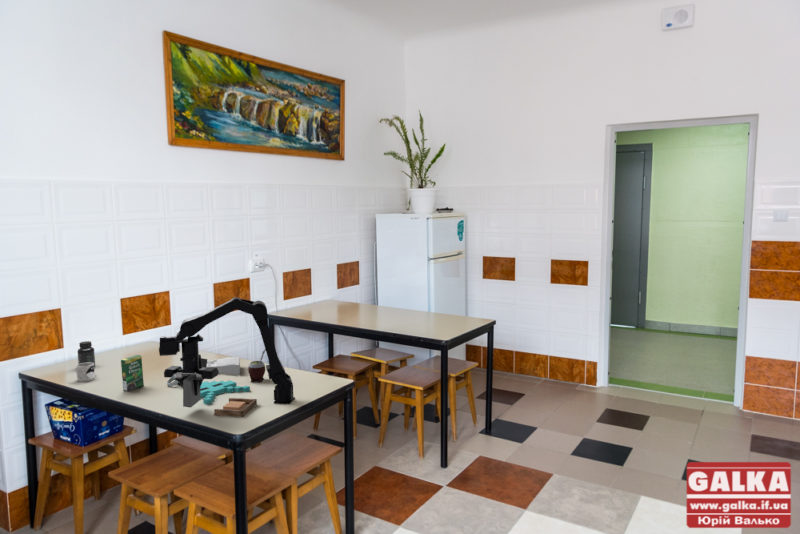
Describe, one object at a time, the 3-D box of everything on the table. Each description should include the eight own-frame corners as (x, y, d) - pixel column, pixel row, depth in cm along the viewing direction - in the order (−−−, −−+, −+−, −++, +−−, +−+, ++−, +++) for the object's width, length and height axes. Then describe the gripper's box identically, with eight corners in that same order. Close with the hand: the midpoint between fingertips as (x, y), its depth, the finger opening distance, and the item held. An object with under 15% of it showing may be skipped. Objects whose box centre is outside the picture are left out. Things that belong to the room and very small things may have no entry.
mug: (89, 381, 251) (88, 366, 250) (74, 381, 251) (73, 366, 250) (101, 374, 261) (100, 360, 260) (86, 374, 260) (85, 360, 260)
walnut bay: (256, 404, 222) (256, 399, 222) (242, 416, 210) (242, 411, 209) (229, 402, 224) (229, 397, 223) (214, 415, 211) (214, 409, 211)
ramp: (186, 370, 268) (186, 358, 267) (215, 362, 281) (215, 351, 280) (226, 380, 252) (225, 368, 251) (255, 371, 265) (254, 360, 264)
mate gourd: (245, 380, 251) (244, 346, 249) (261, 376, 256) (260, 343, 254) (255, 384, 245) (253, 349, 244) (271, 380, 251) (270, 346, 249)
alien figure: (250, 391, 238) (220, 382, 250) (249, 386, 237) (220, 377, 250) (206, 405, 222) (177, 395, 234) (206, 400, 222) (177, 389, 234)
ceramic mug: (187, 378, 254) (186, 361, 253) (196, 382, 248) (195, 365, 247) (163, 384, 247) (162, 366, 246) (171, 389, 241) (170, 371, 240)
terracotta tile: (245, 407, 220) (245, 401, 220) (238, 412, 214) (238, 407, 214) (230, 406, 221) (230, 401, 221) (223, 411, 215) (222, 406, 215)
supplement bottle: (76, 368, 271) (74, 342, 269) (91, 364, 276) (90, 339, 274) (82, 371, 266) (80, 345, 265) (98, 367, 271) (96, 342, 270)
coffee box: (126, 391, 237) (124, 360, 236) (122, 390, 239) (120, 359, 237) (144, 386, 244) (142, 355, 243) (139, 385, 246) (137, 354, 244)
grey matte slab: (200, 399, 219) (200, 374, 217) (190, 407, 212) (190, 381, 210) (192, 398, 219) (192, 373, 217) (183, 406, 212) (183, 380, 210)
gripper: (224, 348, 220) (226, 389, 222) (178, 347, 223) (180, 387, 225) (210, 356, 209) (212, 399, 211) (161, 355, 212) (164, 396, 214)
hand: (192, 395), depth 215 cm, fingers closed on grey matte slab, 3 cm apart
